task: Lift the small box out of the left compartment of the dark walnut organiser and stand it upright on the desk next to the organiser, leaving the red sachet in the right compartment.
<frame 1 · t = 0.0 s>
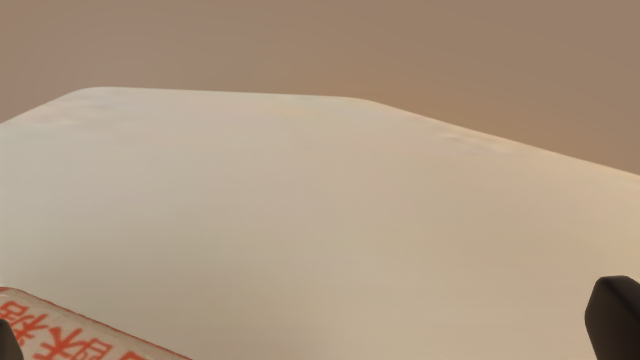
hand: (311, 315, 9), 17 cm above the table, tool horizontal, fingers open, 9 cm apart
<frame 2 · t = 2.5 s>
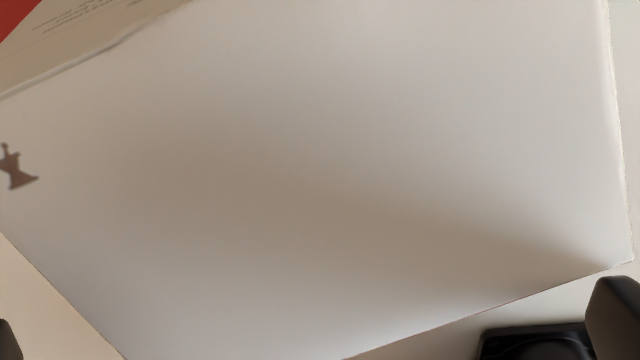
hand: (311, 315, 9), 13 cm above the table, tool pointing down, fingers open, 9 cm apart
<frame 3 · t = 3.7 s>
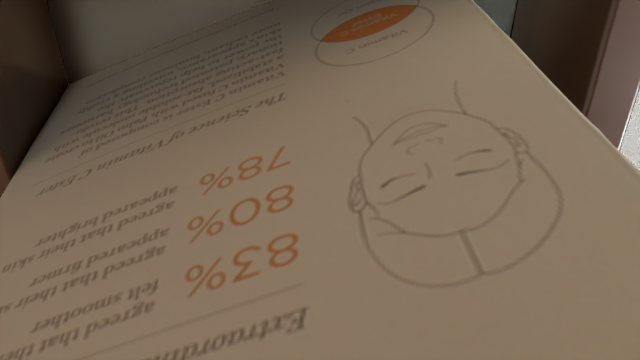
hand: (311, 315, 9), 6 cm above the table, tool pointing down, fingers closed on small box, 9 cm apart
small box: (291, 130, 14), resting in organiser, touching gripper
organiser: (66, 147, 14), on the table
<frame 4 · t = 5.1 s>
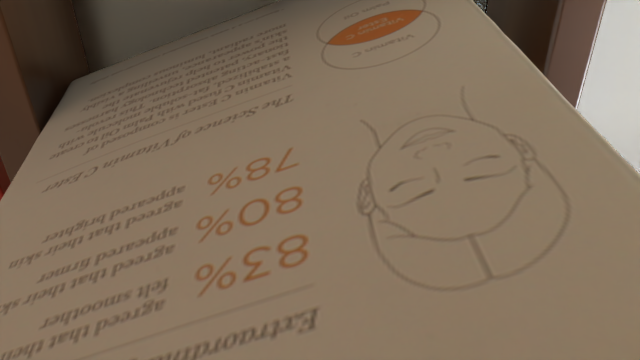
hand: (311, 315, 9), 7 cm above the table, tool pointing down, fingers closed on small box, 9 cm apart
small box: (292, 130, 14), point 1 cm above the table, touching gripper
organiser: (80, 107, 15), on the table
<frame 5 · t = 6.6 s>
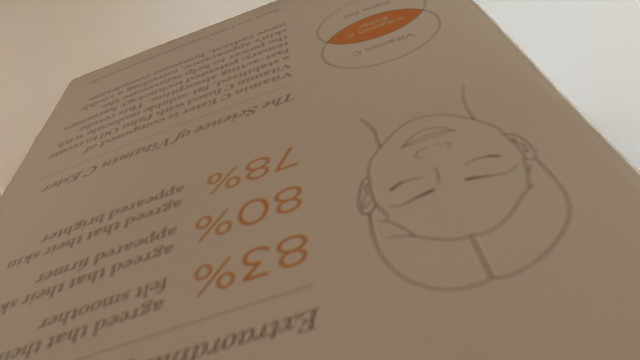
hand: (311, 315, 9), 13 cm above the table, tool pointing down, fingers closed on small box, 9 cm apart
small box: (292, 130, 14), point 7 cm above the table, touching gripper
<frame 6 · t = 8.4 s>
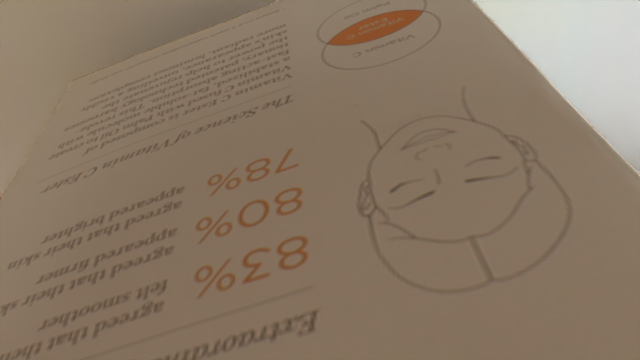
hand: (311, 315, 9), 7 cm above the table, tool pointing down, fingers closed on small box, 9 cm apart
small box: (293, 131, 14), point 1 cm above the table, touching gripper
when the fingers open (6 cm above the table, at t = 9.8 s): small box stays where it is, on the table.
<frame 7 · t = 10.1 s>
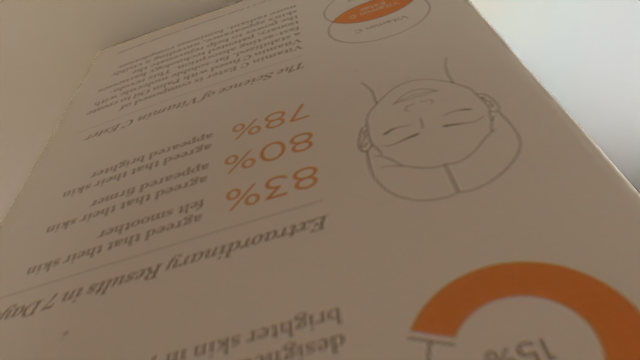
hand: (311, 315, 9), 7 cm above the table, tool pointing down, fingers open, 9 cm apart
small box: (295, 105, 16), on the table, touching gripper
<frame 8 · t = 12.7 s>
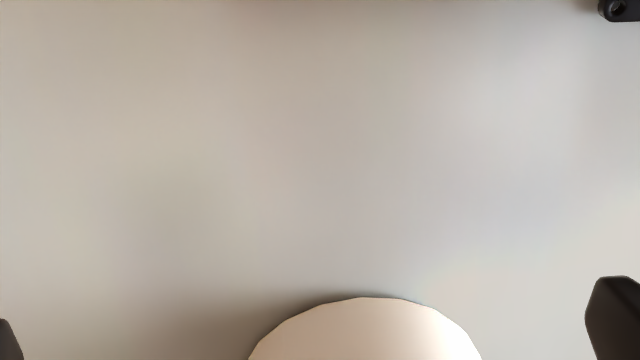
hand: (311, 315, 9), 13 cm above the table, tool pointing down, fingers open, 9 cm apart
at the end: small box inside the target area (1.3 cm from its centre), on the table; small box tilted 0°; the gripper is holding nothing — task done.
